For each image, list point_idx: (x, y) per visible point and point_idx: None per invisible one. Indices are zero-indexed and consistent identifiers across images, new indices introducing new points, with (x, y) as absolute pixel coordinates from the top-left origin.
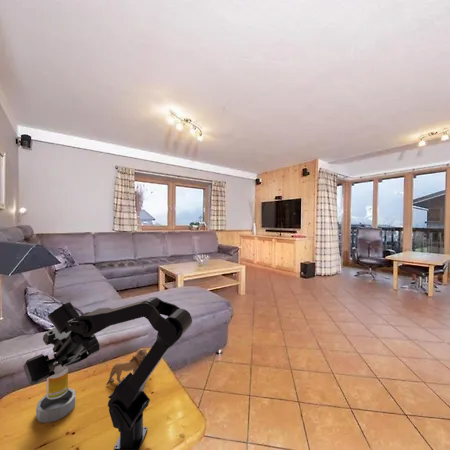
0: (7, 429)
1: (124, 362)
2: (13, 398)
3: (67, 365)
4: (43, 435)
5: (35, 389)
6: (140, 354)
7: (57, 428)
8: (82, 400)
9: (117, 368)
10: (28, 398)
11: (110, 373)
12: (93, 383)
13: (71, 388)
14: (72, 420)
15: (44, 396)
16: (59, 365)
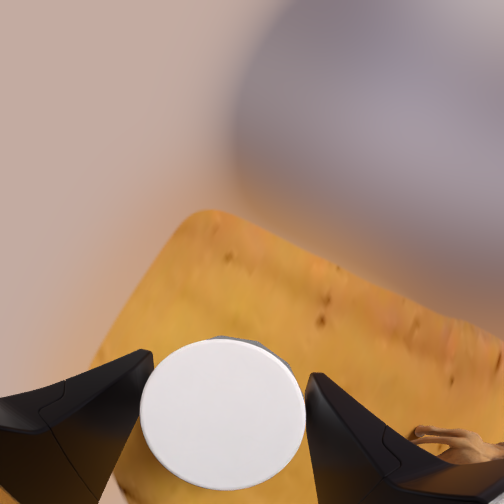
0: (115, 332)
1: (482, 457)
2: (207, 218)
3: (307, 428)
4: (138, 464)
5: (260, 234)
6: None
7: (174, 483)
8: (304, 447)
9: (454, 462)
10: (224, 256)
11: (432, 439)
12: (382, 389)
13: (303, 398)
14: (220, 499)
15: (216, 338)
16: (194, 482)
